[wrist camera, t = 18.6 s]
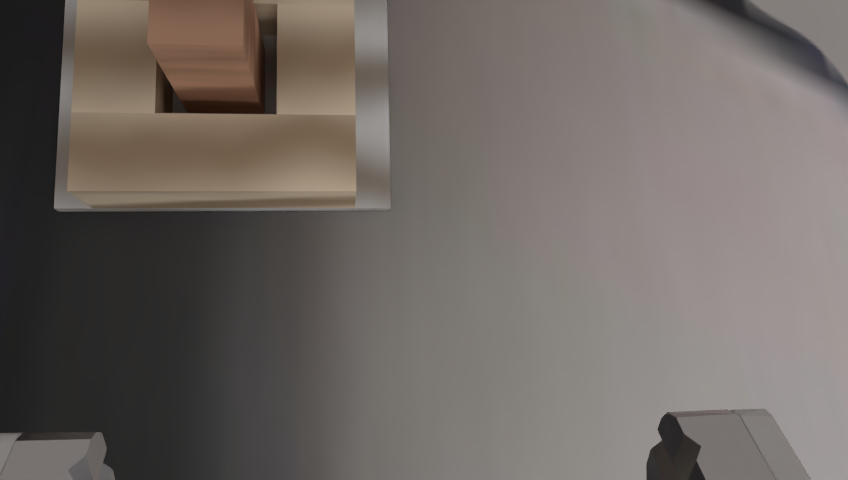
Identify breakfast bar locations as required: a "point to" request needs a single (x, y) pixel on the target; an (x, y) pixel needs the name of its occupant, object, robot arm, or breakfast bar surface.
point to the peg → (210, 53)
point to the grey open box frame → (226, 116)
